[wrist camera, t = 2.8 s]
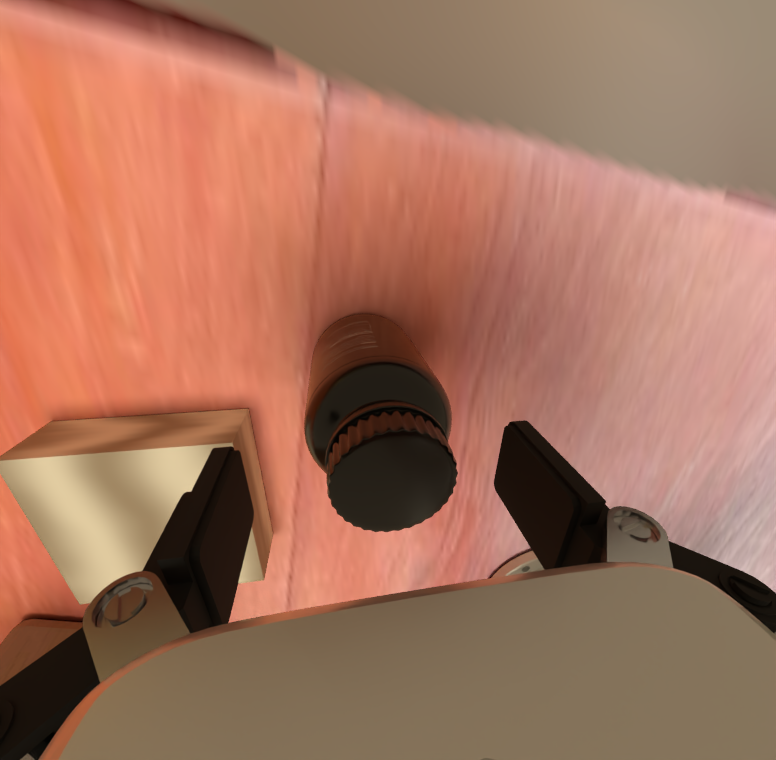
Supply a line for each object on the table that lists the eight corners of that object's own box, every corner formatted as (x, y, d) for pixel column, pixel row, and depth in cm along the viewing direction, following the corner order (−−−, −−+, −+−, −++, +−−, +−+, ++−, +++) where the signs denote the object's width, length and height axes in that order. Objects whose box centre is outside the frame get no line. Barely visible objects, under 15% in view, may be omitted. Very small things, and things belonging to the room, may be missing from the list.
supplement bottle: (309, 402, 23) (287, 554, 12) (316, 305, 21) (297, 390, 10) (404, 409, 25) (459, 551, 14) (423, 318, 22) (508, 407, 11)
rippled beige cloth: (248, 408, 23) (232, 442, 19) (273, 534, 28) (264, 580, 24) (50, 421, 21) (-8, 461, 18) (114, 552, 26) (79, 604, 23)
